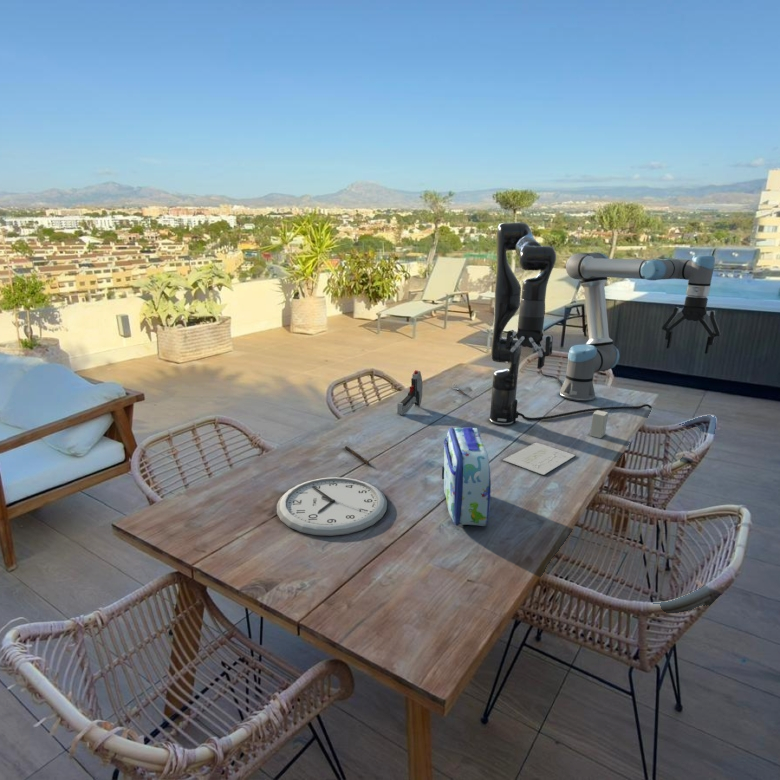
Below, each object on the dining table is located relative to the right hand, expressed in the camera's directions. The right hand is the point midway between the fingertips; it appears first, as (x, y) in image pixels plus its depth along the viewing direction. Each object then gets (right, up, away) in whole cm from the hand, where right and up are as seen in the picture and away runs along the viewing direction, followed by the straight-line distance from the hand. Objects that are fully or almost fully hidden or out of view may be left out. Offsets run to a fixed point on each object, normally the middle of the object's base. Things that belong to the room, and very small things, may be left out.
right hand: (686, 350), depth 208 cm
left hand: (-75, -8, -44) cm, 88 cm away
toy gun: (-110, -24, +10) cm, 113 cm away
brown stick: (-129, -38, -34) cm, 139 cm away
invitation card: (-68, -39, -33) cm, 85 cm away
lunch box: (-98, -48, -65) cm, 127 cm away
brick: (-41, -33, -12) cm, 53 cm away
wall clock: (-134, -47, -65) cm, 156 cm away
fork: (-86, -17, +36) cm, 94 cm away
